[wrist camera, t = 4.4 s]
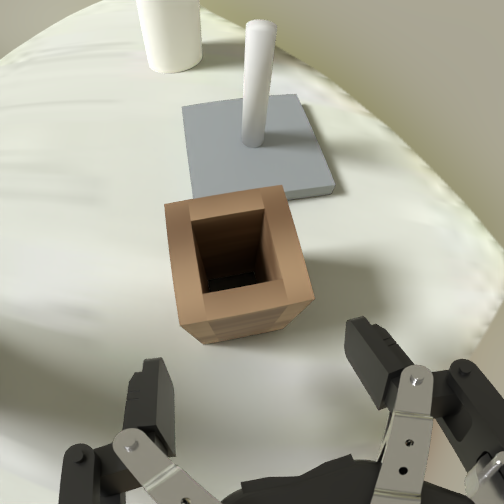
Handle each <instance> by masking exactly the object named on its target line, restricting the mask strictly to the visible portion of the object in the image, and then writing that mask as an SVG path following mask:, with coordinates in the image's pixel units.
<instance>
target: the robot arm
mask: <svg viewBox="0 0 504 504" xmlns="http://www.w3.org/2000/svg"><path fill="white" fill-rule="evenodd" d="M344 349H345V354H346V357H347V359H348V361H349V362H350V364H351V366H352V367H353V369H354V371H355V372H356V374H357V375H358V377H359V379H360V380H361V382H362V384H363V385H364V387H365V389H366V390H367V392H368V394H369V395H370V397H371V399H372V400H373V402H374V404H375V405H376V407H377V409H378V410H381V409H383V408H386V407H387V408H388V410H389V411H390V412H389V415H388V419H387V423H386V427H385V431H384V435H383V439H382V442H381V446H380V449H379V452H378V455H377V458H376V461H371V460H353V457H352V455H351V454H349V455H347V456H344V457H341V458H338V459H334V460H331V461H328V462H325V463H323V464H321V465H320V466H318V467H316V468H314V469H312V470H310V471H309V472H307V473H305V474H303V475H301V476H295V477H266V478H261V479H256V480H251V481H245V482H241V487H242V489H240V490H237V491H235V492H233V493H232V494H230V495H229V496H227V497H226V498H224V499H223V500H222V501H221V502H220V501H218V500H217V499H216V498H215V497H214V496H212V495H211V494H210V493H209V492H208V491H206V490H205V489H204V488H203V487H202V486H201V485H199V484H198V483H197V482H196V481H195V480H194V479H193V478H192V477H190V476H189V475H188V474H187V473H186V472H185V471H184V470H183V469H182V468H181V467H179V466H178V465H175V464H174V463H173V462H172V461H171V460H170V459H169V458H168V457H176V454H175V414H174V388H173V384H172V381H171V378H170V376H169V374H168V371H167V369H166V366H165V364H164V361H163V359H162V358H161V357H160V358H153V359H145V360H144V362H143V370H142V372H137V373H134V375H133V376H132V378H131V380H130V381H129V386H128V393H127V401H126V407H125V414H124V423H123V430H122V431H121V432H120V433H118V434H117V435H116V437H115V438H114V440H113V443H111V444H108V445H106V446H102V447H99V448H96V449H92V448H91V447H90V446H88V445H86V444H75V445H73V446H71V447H70V448H69V449H68V450H67V451H66V452H65V455H64V459H63V466H62V474H61V483H60V492H59V504H126V496H125V492H126V491H129V490H133V489H136V488H139V487H142V486H143V487H144V489H145V490H146V492H147V493H148V494H149V495H150V496H151V497H152V498H153V499H154V500H155V502H156V503H157V504H504V399H503V398H502V396H501V395H500V394H499V393H498V391H497V390H496V389H495V388H494V386H493V385H492V384H491V383H490V381H489V380H488V379H487V378H486V377H485V375H484V374H483V373H482V372H481V371H480V369H479V368H478V367H477V366H476V365H475V364H474V363H473V362H471V361H469V360H466V359H459V360H456V361H454V362H453V363H452V364H451V366H450V368H449V370H444V371H437V372H431V371H430V370H429V369H428V368H426V367H424V366H421V365H414V363H413V362H412V361H411V360H410V358H409V357H408V356H407V355H406V354H405V352H404V351H403V350H402V349H401V347H400V346H399V345H398V344H396V341H395V340H394V339H393V338H392V337H391V335H390V334H389V333H388V332H387V331H386V329H384V328H382V327H381V326H379V325H377V324H374V325H371V324H370V323H369V322H368V320H367V319H366V318H365V317H364V316H361V317H358V318H354V319H350V320H347V322H346V331H345V344H344ZM434 418H435V419H436V420H437V422H438V424H439V425H440V427H441V428H442V430H443V432H444V433H445V435H446V437H447V438H448V440H449V442H450V444H451V445H452V447H453V449H454V450H455V452H456V454H457V456H458V457H459V459H460V461H461V462H462V464H463V466H464V468H465V469H466V471H467V475H466V477H465V487H466V488H465V491H466V493H467V496H465V495H462V494H460V493H456V492H454V491H450V490H448V489H445V488H442V487H439V486H437V485H434V484H431V483H429V482H426V481H423V480H424V475H425V470H426V465H427V460H428V454H429V447H430V441H431V434H432V426H433V419H434Z"/></svg>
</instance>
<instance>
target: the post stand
mask: <svg viewBox="0 0 504 504" xmlns="http://www.w3.org/2000/svg"><path fill="white" fill-rule="evenodd" d="M276 32H277V25H276V24H275V23H273V22H271V21H268V20H252V21H249V22H248V23H247V24H246V38H245V61H244V86H243V98H239V99H231V100H223V101H215V102H208V103H201V104H195V105H189V106H183V107H182V113H183V122H184V131H185V139H186V148H187V156H188V163H189V171H190V178H191V186H192V193H193V199H195V198H201V197H206V196H212V195H218V194H224V193H230V192H236V191H243V190H249V189H255V188H262V187H269V186H276V185H283V189H284V192H285V195H286V198H287V200H292V199H299V198H306V197H313V196H320V195H327V194H331V193H332V191H333V189H334V187H335V182H334V180H333V177H332V174H331V172H330V169H329V167H328V165H327V162H326V160H325V157H324V155H323V153H322V150H321V148H320V145H319V143H318V141H317V138H316V136H315V134H314V132H313V129H312V127H311V125H310V123H309V120H308V118H307V116H306V114H305V112H304V110H303V107H302V105H301V103H300V101H299V99H298V97H297V95H296V94H286V95H271V96H269V91H270V83H271V74H272V66H273V58H274V49H275V41H276Z"/></svg>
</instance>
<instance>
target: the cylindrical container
mask: <svg viewBox="0 0 504 504" xmlns="http://www.w3.org/2000/svg"><path fill="white" fill-rule="evenodd" d="M136 2H137V8H138V13H139V18H140V24H141V29H142V34H143V39H144V44H145V48H146V53H147V58H148V62H149V67H150V68H151V69H152V70H153V71H156V72H159V73H177V72H181V71H185V70H188V69H190V68H192V67H194V66H195V65H197V64H198V63H199V62H200V61H201V59H202V57H203V53H202V38H201V22H200V4H199V0H136Z"/></svg>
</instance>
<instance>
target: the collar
mask: <svg viewBox="0 0 504 504" xmlns="http://www.w3.org/2000/svg"><path fill="white" fill-rule="evenodd" d="M164 207H165V217H166V227H167V236H168V245H169V254H170V262H171V269H172V277H173V284H174V291H175V298H176V305H177V311H178V317H179V323H180V326H181V327H182V328H184V329H185V330H186V331H187V332H188V333H190V334H191V335H192V336H193V337H195V338H196V339H197V340H198V341H200V342H201V343H202V344H209V343H215V342H220V341H226V340H231V339H236V338H241V337H246V336H251V335H256V334H261V333H266V332H270V331H275V330H280V329H283V328H285V327H286V326H287V325H288V324H289V323H290V322H291V321H292V320H293V319H294V318H295V317H296V316H297V315H299V314H300V313H301V312H302V311H303V310H304V309H305V308H306V307H307V306H308V305H309V304H310V303H311V302H312V301H313V300H314V299H315V297H314V293H313V290H312V286H311V282H310V278H309V275H308V271H307V268H306V264H305V260H304V257H303V253H302V250H301V246H300V243H299V239H298V236H297V232H296V229H295V225H294V222H293V218H292V215H291V212H290V208H289V205H288V202H287V198H286V195H285V192H284V189H283V185H276V186H269V187H262V188H255V189H249V190H243V191H236V192H230V193H224V194H218V195H212V196H206V197H201V198H195V199H190V200H184V201H179V202H173V203H168V204H164ZM249 272H254V274H255V279H256V283H257V284H254V285H248V286H243V287H238V288H233V289H227V290H222V291H216V292H211V293H210V289H209V283H208V280H212V279H217V278H223V277H228V276H233V275H239V274H244V273H249Z"/></svg>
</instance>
